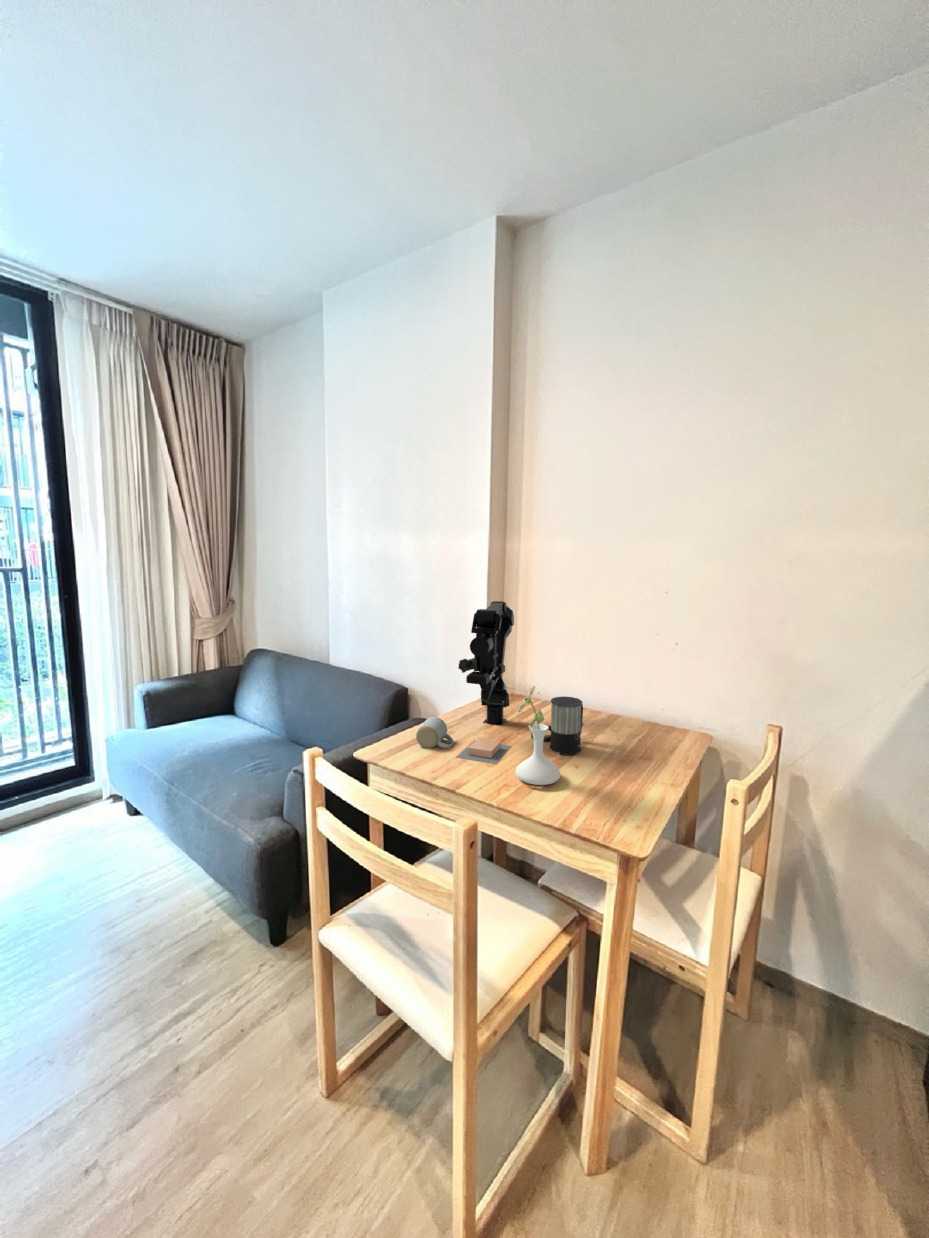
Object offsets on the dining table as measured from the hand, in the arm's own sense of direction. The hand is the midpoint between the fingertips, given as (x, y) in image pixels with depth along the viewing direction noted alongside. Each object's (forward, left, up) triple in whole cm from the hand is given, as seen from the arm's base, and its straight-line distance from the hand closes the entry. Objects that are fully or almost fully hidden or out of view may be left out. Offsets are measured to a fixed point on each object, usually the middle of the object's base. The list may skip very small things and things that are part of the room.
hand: (486, 699), depth 152 cm
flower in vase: (+23, +22, -12) cm, 34 cm away
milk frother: (-2, +21, -12) cm, 25 cm away
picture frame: (+8, +4, -10) cm, 14 cm away
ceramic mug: (+12, -12, -12) cm, 21 cm away
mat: (+12, +4, -12) cm, 17 cm away
